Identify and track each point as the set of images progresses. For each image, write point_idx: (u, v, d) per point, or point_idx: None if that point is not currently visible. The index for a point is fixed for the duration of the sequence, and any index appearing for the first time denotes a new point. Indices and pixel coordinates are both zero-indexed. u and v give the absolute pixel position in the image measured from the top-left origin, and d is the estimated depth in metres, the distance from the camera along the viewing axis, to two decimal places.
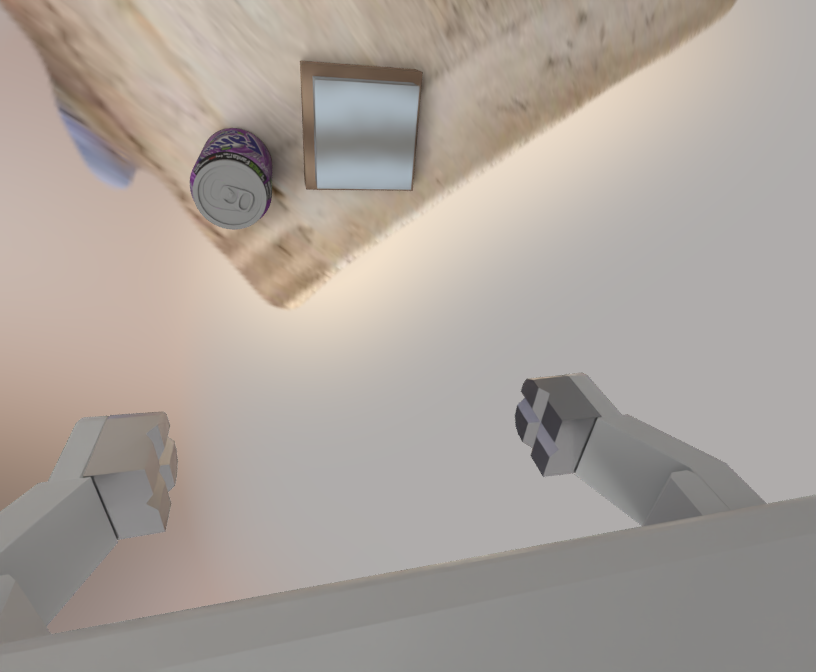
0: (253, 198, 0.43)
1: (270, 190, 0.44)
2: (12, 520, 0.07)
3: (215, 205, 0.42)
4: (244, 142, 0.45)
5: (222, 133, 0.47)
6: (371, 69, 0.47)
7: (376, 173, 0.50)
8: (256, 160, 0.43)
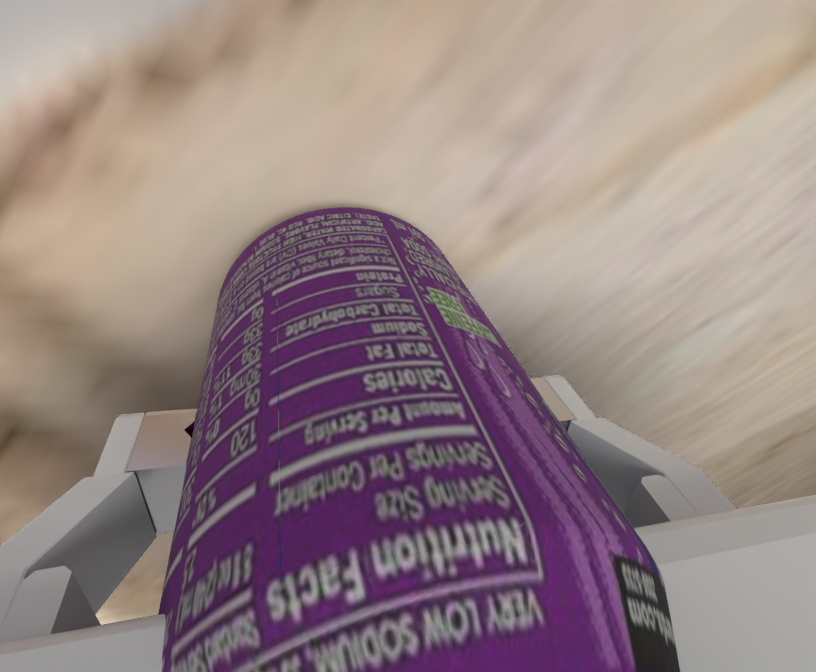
0: None
1: None
2: (63, 513, 0.07)
3: None
4: None
5: None
6: None
7: None
8: None
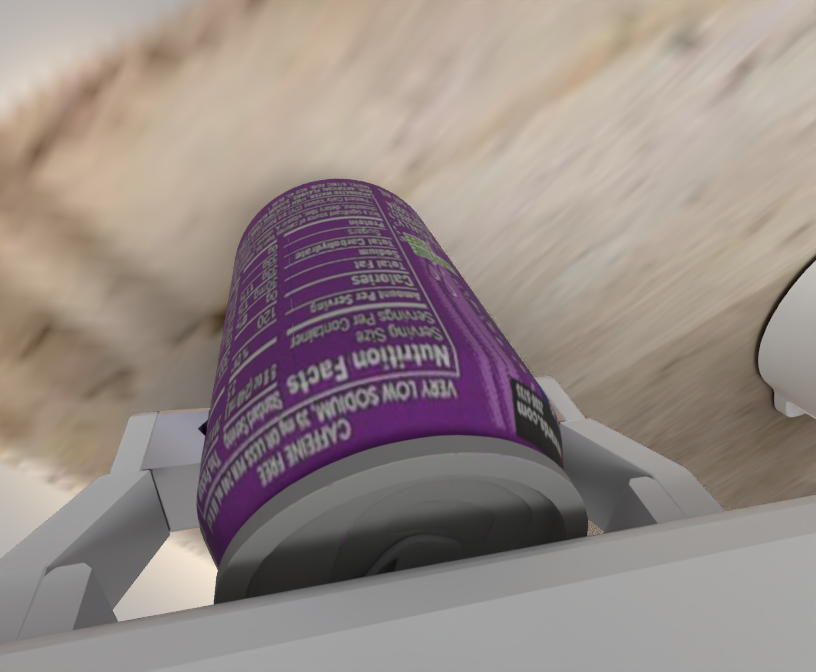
0: None
1: None
2: (80, 511, 0.07)
3: (358, 521, 0.07)
4: None
5: None
6: None
7: None
8: None
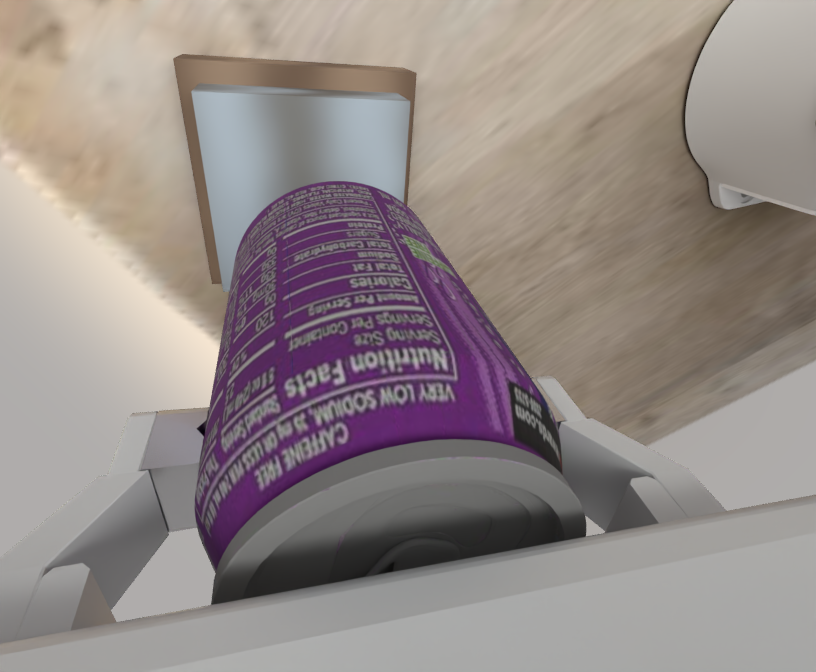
0: None
1: None
2: (79, 511, 0.07)
3: (356, 525, 0.07)
4: None
5: None
6: (406, 198, 0.29)
7: (247, 224, 0.25)
8: None
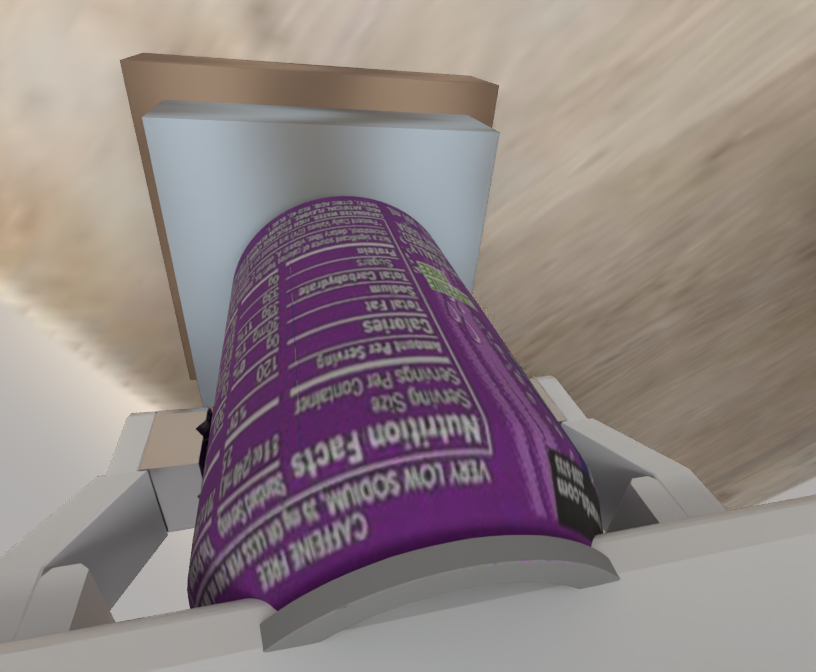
0: None
1: None
2: (77, 511, 0.07)
3: None
4: None
5: None
6: None
7: None
8: None
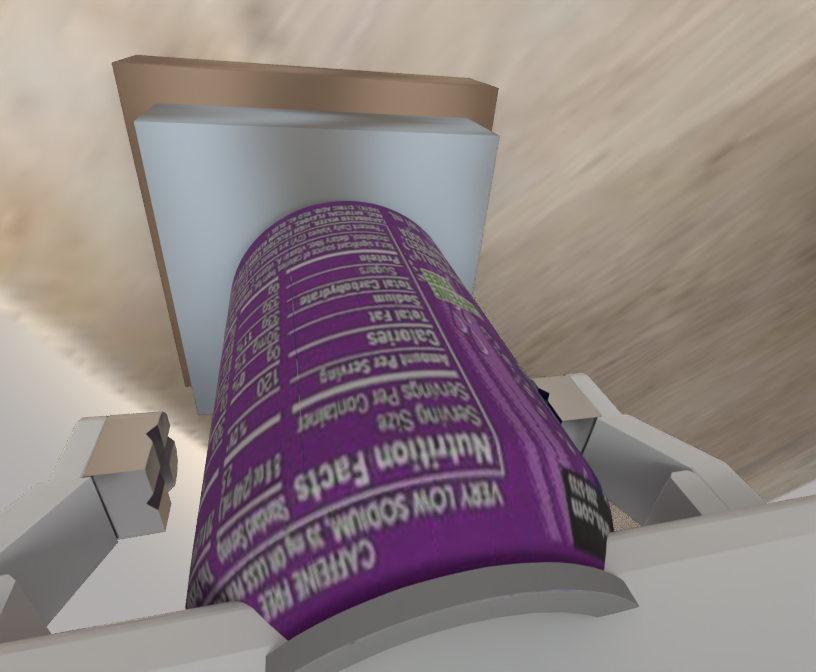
0: None
1: None
2: (12, 520, 0.07)
3: None
4: None
5: None
6: None
7: None
8: None
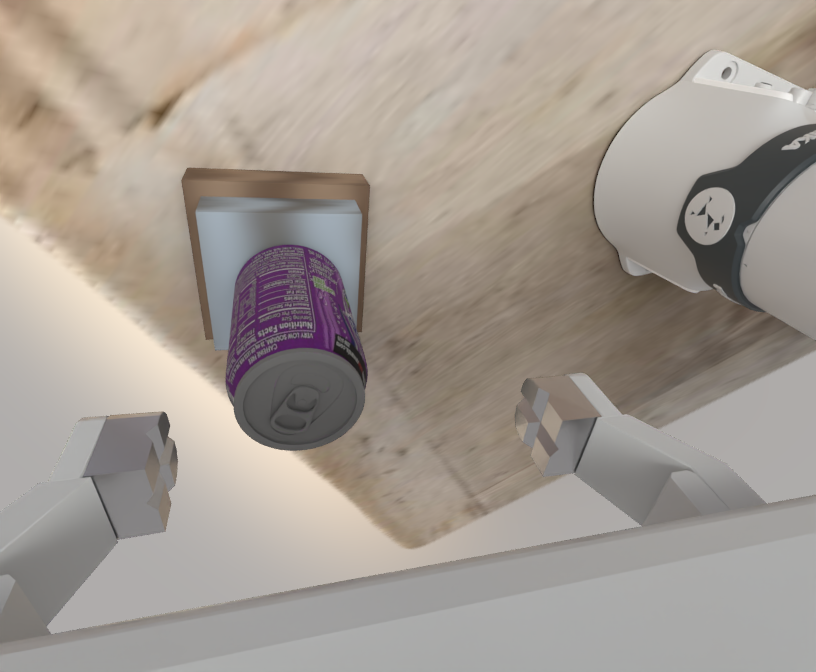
0: (296, 432, 0.24)
1: None
2: (12, 520, 0.07)
3: (280, 378, 0.22)
4: None
5: None
6: (363, 274, 0.37)
7: None
8: None
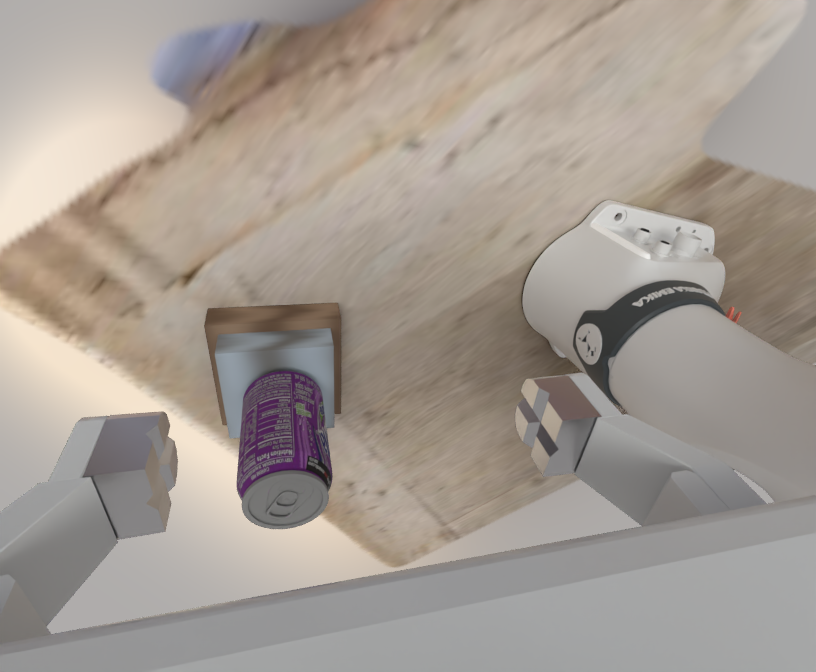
0: None
1: None
2: (12, 520, 0.07)
3: (271, 487, 0.34)
4: None
5: (323, 405, 0.42)
6: (340, 375, 0.48)
7: None
8: None
